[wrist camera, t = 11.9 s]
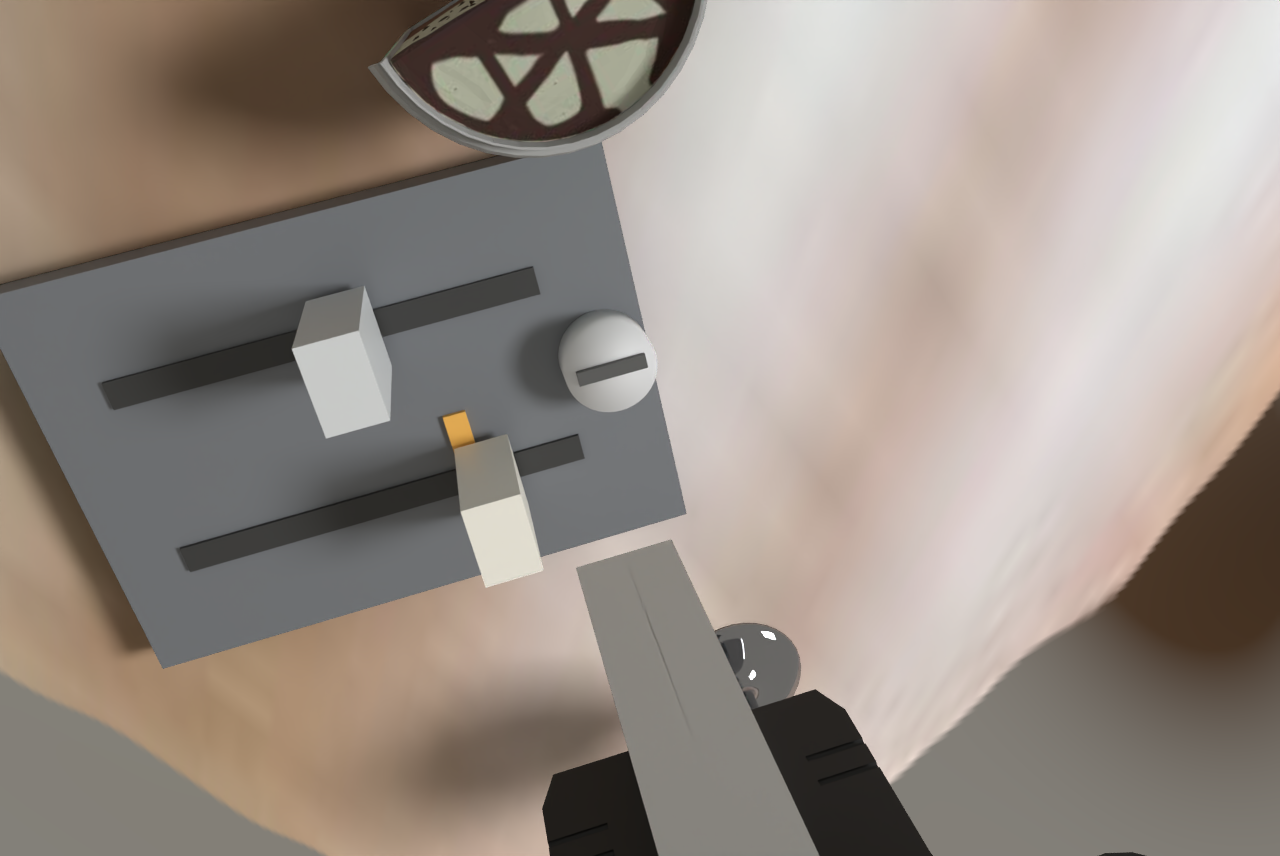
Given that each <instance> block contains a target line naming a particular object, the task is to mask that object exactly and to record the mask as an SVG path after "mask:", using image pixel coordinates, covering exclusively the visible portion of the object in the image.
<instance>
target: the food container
mask: <svg viewBox="0 0 1280 856" xmlns="http://www.w3.org/2000/svg"><path fill="white" fill-rule="evenodd" d="M706 4H707V0H454V1H452V2H450V3H449V4H447V5H446V6H444V7H442V8H441V9H439V10H438V11H436V12H434V13H433V14H431V15H430V16H428V17H427V18H425V19H423V20H422V21H420V22H419V23H417V24H415V25H414V26H412V27H411V28H409V29H408V30H406V31H405V32H404V33H403V35H402V36H401V37H400V38H399V40H398V41H397V42H396V43H395V44H394V46H393V47H392V48H391V49H390V51H389V52H388V53H387V54H386V56H385V57H384V58H383V59H382V60H381V61H380V62H379V63H377V64H372V65H370V66H369V67H368V69H369V70H370V71H371V72H372V74H373V75H374V76H375V78H376V79H377V80H378V81H379V83H380V84H381V85H382V87H383V88H384V89H385V90H386V92H387V93H389V94H390V95H391V96H392V97H393V98H394V99H395V100H396V101H397V102H398V103H399V104H400V105H401V106H402V107H403V108H404V109H405V110H406V111H407V112H408V113H409V114H411V115H412V116H413V117H415V118H416V119H418V120H419V121H420V122H422V123H423V124H424V125H426V126H427V127H429V128H430V129H431V130H433V131H435V132H437V133H439V134H441V135H443V136H444V137H446V138H448V139H450V140H452V141H454V142H456V143H458V144H461V145H464V146H467V147H470V148H473V149H476V150H479V151H482V152H485V153H489V154H495V155H501V156H507V157H513V158H544V157H550V156H557V155H563V154H569V153H572V152H575V151H578V150H581V149H584V148H587V147H590V146H593V145H596V144H598V143H600V142H602V141H604V140H606V139H607V138H609V137H611V136H613V135H615V134H617V133H619V132H621V131H622V130H623V129H625V128H626V127H627V126H629V125H630V124H631V123H633V122H634V121H636V120H637V119H638V118H640V117H641V116H642V115H644V114H645V113H646V112H647V111H648V110H649V109H650V108H651V107H652V106H653V105H654V104H655V103H656V102H657V101H658V100H659V99H660V98H661V97H662V96H663V95H664V93H665V92H666V91H667V89H668V88H669V87H670V85H671V84H672V82H673V81H674V80H675V78H676V77H677V76H678V74H679V73H680V71H681V70H682V68H683V66H684V64H685V62H686V60H687V58H688V56H689V54H690V52H691V50H692V49H693V47H694V44H695V41H696V38H697V36H698V33H699V30H700V27H701V24H702V21H703V19H704V14H705V9H706Z"/></svg>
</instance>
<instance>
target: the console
mask: <svg viewBox="0 0 1280 856" xmlns="http://www.w3.org/2000/svg"><path fill="white" fill-rule="evenodd" d="M361 286H365V289H366V292H367V295H368V298H369V301H370V304H371V306H372V309H373V312H374V315H375V318H376V321H377V324H378V327H379V330H380V333H381V336H382V339H383V342H384V344H385V347H386V350H387V353H388V356H389V359H390V362H391V365H392V381H391V412H390V421H387V422H384V423H380V424H376V425H373V426H369V427H366V428H362V429H359V430H355V431H351V432H348V433H344V434H341V435H337V436H334V437H330V438H326V437H325V435H324V432H323V429H322V427H321V424H320V421H319V419H318V416H317V414H316V411H315V408H314V406H313V403H312V401H311V398H310V395H309V393H308V390H307V388H306V385H305V382H304V380H303V377H302V374H301V372H300V369H299V367H298V364H297V361H296V359H295V356H294V354H293V351H292V346H293V343H294V339H295V336H296V333H297V329H298V326H299V323H300V319H301V316H302V312H303V309H304V306H305V302H306V301H309V300H312V299H316V298H320V297H324V296H327V295H331V294H335V293H339V292H342V291H346V290H350V289H354V288H357V287H361ZM0 349H1V351H2V353H3V355H4V357H5V359H6V361H7V363H8V365H9V367H10V369H11V371H12V373H13V375H14V377H15V379H16V381H17V382H18V384H19V386H20V388H21V390H22V392H23V394H24V396H25V398H26V400H27V402H28V404H29V406H30V408H31V410H32V412H33V414H34V416H35V418H36V420H37V422H38V424H39V426H40V428H41V430H42V432H43V434H44V436H45V438H46V440H47V442H48V443H49V445H50V447H51V449H52V451H53V453H54V455H55V457H56V459H57V461H58V463H59V465H60V467H61V469H62V471H63V473H64V475H65V477H66V479H67V481H68V483H69V485H70V487H71V489H72V491H73V493H74V495H75V497H76V499H77V501H78V503H79V504H80V506H81V508H82V510H83V512H84V514H85V516H86V518H87V520H88V522H89V524H90V526H91V528H92V530H93V532H94V534H95V536H96V538H97V540H98V542H99V544H100V546H101V548H102V550H103V552H104V554H105V556H106V558H107V560H108V562H109V564H110V565H111V567H112V569H113V571H114V573H115V575H116V577H117V579H118V581H119V583H120V585H121V587H122V589H123V591H124V593H125V595H126V597H127V599H128V601H129V603H130V605H131V607H132V609H133V611H134V613H135V615H136V617H137V619H138V621H139V623H140V625H141V627H142V628H143V630H144V632H145V634H146V636H147V638H148V640H149V642H150V644H151V646H152V648H153V650H154V652H155V654H156V656H157V658H158V660H159V662H160V664H161V666H162V668H163V669H164V668H167V667H170V666H174V665H177V664H181V663H184V662H187V661H191V660H194V659H198V658H201V657H204V656H208V655H211V654H214V653H218V652H221V651H225V650H228V649H231V648H235V647H238V646H241V645H245V644H248V643H252V642H255V641H258V640H262V639H265V638H269V637H272V636H275V635H279V634H282V633H285V632H289V631H292V630H296V629H299V628H302V627H306V626H309V625H312V624H316V623H319V622H323V621H326V620H329V619H333V618H336V617H339V616H343V615H346V614H350V613H353V612H356V611H360V610H363V609H367V608H370V607H373V606H377V605H380V604H383V603H387V602H390V601H394V600H397V599H400V598H404V597H407V596H410V595H414V594H417V593H421V592H424V591H427V590H431V589H434V588H438V587H441V586H444V585H448V584H451V583H454V582H458V581H461V580H465V579H468V578H471V577H475V576H478V575H481V572H480V569H479V566H478V563H477V560H476V557H475V554H474V551H473V548H472V545H471V542H470V539H469V536H468V533H467V530H466V527H465V524H464V521H463V518H462V515H461V512H460V502H459V493H458V483H457V473H456V463H455V454H454V449H456V448H459V447H463V446H466V445H470V444H473V443H477V442H480V441H484V440H487V439H491V438H495V437H498V436H502V435H505V434H507V435H508V438H509V441H510V445H511V448H512V451H513V455H514V458H515V461H516V465H517V468H518V471H519V475H520V478H521V481H522V485H523V488H524V491H525V495H526V498H527V501H528V505H529V509H530V514H531V518H532V522H533V527H534V531H535V535H536V539H537V544H538V548H539V552H540V557H542V556H546V555H549V554H552V553H556V552H559V551H563V550H566V549H569V548H573V547H576V546H579V545H583V544H586V543H590V542H593V541H596V540H600V539H603V538H606V537H610V536H613V535H617V534H620V533H623V532H627V531H630V530H634V529H637V528H640V527H644V526H647V525H650V524H654V523H657V522H661V521H664V520H667V519H671V518H674V517H677V516H681V515H684V514H686V509H685V505H684V501H683V496H682V492H681V488H680V483H679V479H678V474H677V470H676V466H675V461H674V457H673V453H672V448H671V444H670V439H669V435H668V431H667V426H666V422H665V418H664V413H663V409H662V404H661V400H660V396H659V391H658V387H657V382H656V374H657V368H658V362H657V355H656V352H655V349H654V347H653V345H652V343H651V342H650V340H649V339H648V337H647V336H646V334H645V330H644V326H643V321H642V317H641V312H640V308H639V304H638V299H637V295H636V291H635V286H634V282H633V277H632V273H631V269H630V264H629V260H628V256H627V251H626V247H625V242H624V238H623V234H622V229H621V225H620V221H619V216H618V212H617V207H616V203H615V199H614V194H613V190H612V186H611V181H610V177H609V172H608V168H607V164H606V159H605V155H604V151H603V146H602V142H600V143H598V144H596V145H593V146H590V147H587V148H584V149H581V150H578V151H575V152H572V153H569V154H563V155H557V156H550V157H544V158H513V157H507V156H501V155H499V156H496V157H492V158H488V159H484V160H480V161H476V162H472V163H469V164H465V165H461V166H457V167H453V168H449V169H445V170H442V171H438V172H434V173H430V174H426V175H422V176H418V177H414V178H411V179H407V180H403V181H399V182H395V183H391V184H387V185H384V186H380V187H376V188H372V189H368V190H364V191H360V192H357V193H353V194H349V195H345V196H341V197H337V198H333V199H330V200H326V201H322V202H318V203H314V204H310V205H306V206H303V207H299V208H295V209H291V210H287V211H283V212H279V213H276V214H272V215H268V216H264V217H260V218H256V219H252V220H249V221H245V222H241V223H237V224H233V225H229V226H225V227H221V228H218V229H214V230H210V231H206V232H202V233H198V234H194V235H191V236H187V237H183V238H179V239H175V240H171V241H167V242H164V243H160V244H156V245H152V246H148V247H144V248H140V249H137V250H133V251H129V252H125V253H121V254H117V255H113V256H110V257H106V258H102V259H98V260H94V261H90V262H86V263H83V264H79V265H75V266H71V267H67V268H63V269H59V270H55V271H52V272H48V273H44V274H40V275H36V276H32V277H28V278H25V279H21V280H17V281H13V282H9V283H5V284H1V285H0Z"/></svg>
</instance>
